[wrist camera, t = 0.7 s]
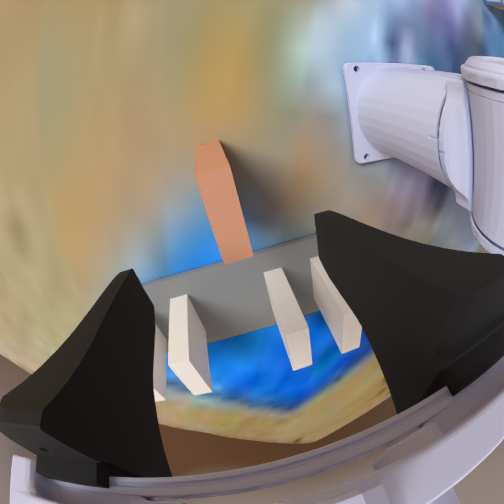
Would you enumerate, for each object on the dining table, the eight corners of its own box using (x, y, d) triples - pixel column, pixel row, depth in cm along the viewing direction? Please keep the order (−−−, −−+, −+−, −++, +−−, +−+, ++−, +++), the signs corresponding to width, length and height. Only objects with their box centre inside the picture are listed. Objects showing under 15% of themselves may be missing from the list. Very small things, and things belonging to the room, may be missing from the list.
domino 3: (218, 139, 18) (230, 166, 12) (235, 203, 20) (253, 256, 15) (195, 146, 18) (194, 176, 12) (214, 209, 20) (224, 264, 15)
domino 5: (326, 253, 24) (364, 307, 18) (329, 293, 27) (359, 347, 21) (310, 258, 24) (343, 315, 18) (314, 298, 27) (341, 353, 21)
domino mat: (345, 224, 23) (348, 227, 23) (346, 297, 28) (348, 300, 28) (107, 293, 23) (106, 297, 22) (150, 352, 28) (149, 356, 27)
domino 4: (281, 267, 24) (308, 327, 18) (288, 306, 27) (312, 364, 21) (263, 272, 24) (285, 334, 18) (273, 311, 27) (293, 370, 21)
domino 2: (187, 294, 24) (189, 360, 18) (205, 330, 26) (212, 391, 21) (170, 298, 23) (168, 364, 18) (190, 334, 26) (194, 395, 21)
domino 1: (144, 305, 23) (136, 370, 18) (166, 339, 26) (166, 400, 20) (129, 309, 23) (119, 373, 18) (152, 342, 26) (150, 402, 20)
